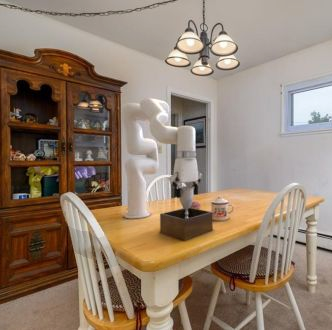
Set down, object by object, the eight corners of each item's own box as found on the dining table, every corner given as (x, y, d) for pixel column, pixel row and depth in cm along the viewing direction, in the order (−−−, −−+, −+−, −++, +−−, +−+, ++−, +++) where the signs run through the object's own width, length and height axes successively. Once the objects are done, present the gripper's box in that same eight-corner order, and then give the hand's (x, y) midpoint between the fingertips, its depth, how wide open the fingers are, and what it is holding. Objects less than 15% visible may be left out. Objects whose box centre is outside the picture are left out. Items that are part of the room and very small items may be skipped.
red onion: (191, 217, 118) (191, 194, 117) (181, 214, 123) (181, 193, 123) (203, 214, 124) (203, 193, 124) (194, 211, 130) (194, 191, 129)
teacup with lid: (211, 221, 111) (211, 198, 110) (210, 216, 120) (210, 194, 119) (235, 220, 112) (235, 197, 112) (232, 215, 121) (232, 194, 121)
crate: (160, 232, 94) (160, 213, 94) (188, 223, 106) (188, 207, 106) (184, 240, 85) (184, 220, 84) (212, 230, 97) (212, 212, 97)
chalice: (190, 232, 91) (190, 188, 91) (175, 231, 93) (175, 188, 92) (197, 226, 98) (197, 186, 98) (182, 226, 100) (182, 185, 99)
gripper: (195, 155, 104) (195, 192, 104) (163, 155, 90) (163, 197, 90) (207, 155, 99) (207, 194, 100) (175, 155, 85) (175, 199, 86)
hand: (186, 195), depth 95 cm, fingers open, 9 cm apart
